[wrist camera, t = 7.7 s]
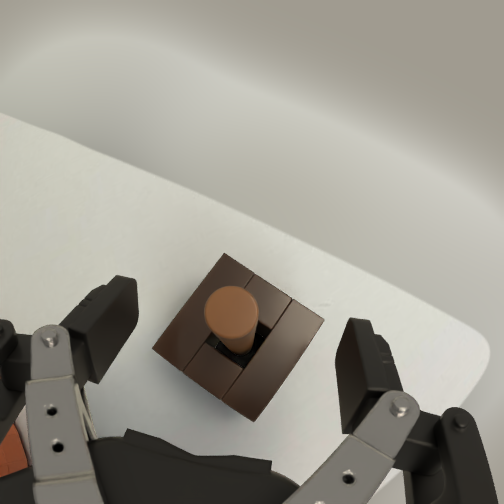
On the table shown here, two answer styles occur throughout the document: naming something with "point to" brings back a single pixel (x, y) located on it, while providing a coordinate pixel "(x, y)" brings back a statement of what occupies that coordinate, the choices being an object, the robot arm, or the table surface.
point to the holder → (268, 326)
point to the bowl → (12, 453)
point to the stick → (233, 318)
